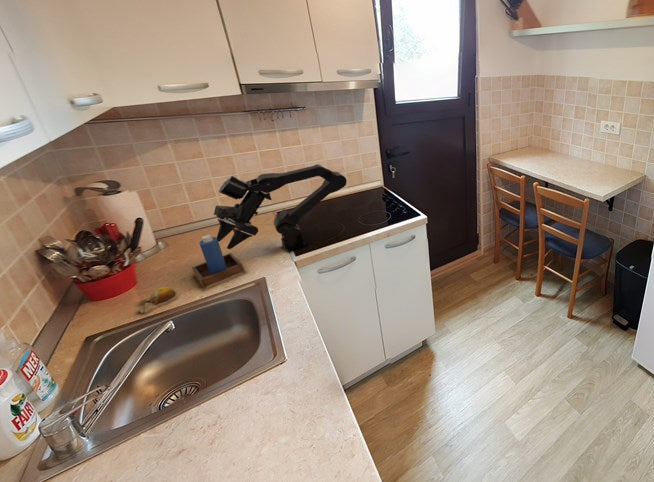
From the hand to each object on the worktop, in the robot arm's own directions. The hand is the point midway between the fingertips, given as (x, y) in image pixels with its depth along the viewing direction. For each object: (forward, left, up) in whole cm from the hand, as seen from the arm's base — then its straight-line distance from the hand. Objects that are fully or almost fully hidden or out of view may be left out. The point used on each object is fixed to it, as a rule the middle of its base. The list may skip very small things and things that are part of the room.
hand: (222, 245), depth 115 cm
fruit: (+20, +1, -11) cm, 23 cm away
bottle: (+3, 0, -10) cm, 10 cm away
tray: (+3, 0, -10) cm, 11 cm away
